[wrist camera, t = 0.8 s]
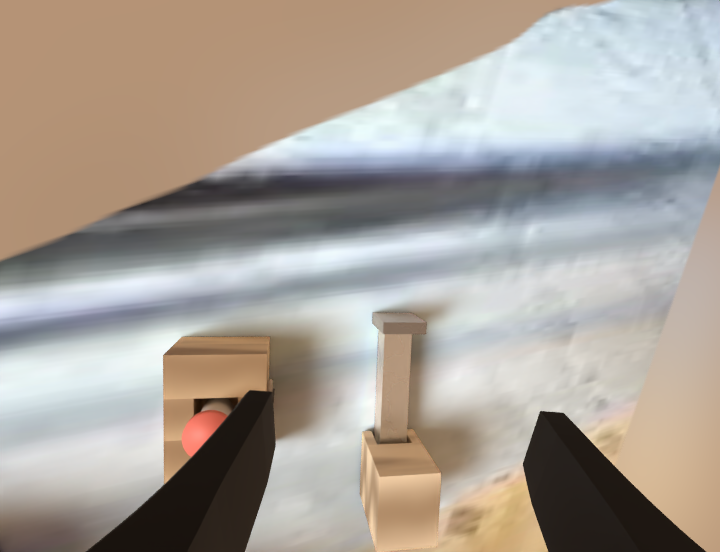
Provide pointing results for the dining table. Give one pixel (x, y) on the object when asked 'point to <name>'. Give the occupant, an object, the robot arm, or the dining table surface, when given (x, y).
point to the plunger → (205, 423)
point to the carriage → (400, 493)
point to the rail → (394, 374)
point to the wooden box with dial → (207, 382)
